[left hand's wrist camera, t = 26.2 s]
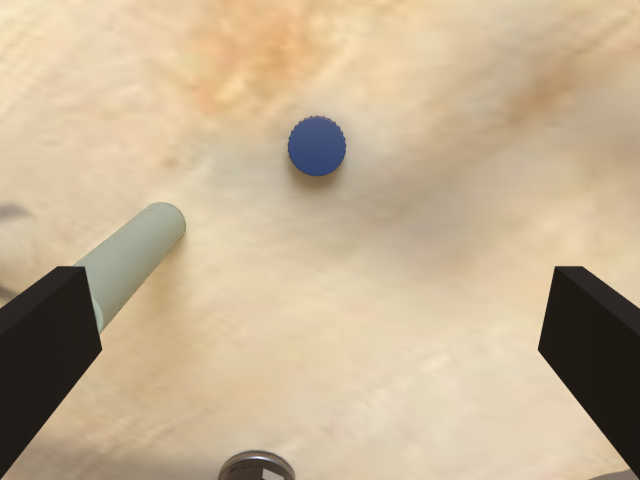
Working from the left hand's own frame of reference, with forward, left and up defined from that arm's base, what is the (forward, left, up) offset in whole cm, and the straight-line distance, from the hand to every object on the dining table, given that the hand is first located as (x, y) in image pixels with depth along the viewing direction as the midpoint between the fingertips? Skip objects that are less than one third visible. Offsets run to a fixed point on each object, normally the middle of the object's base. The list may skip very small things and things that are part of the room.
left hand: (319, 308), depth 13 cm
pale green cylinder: (+3, +17, -30) cm, 34 cm away
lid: (0, 0, -28) cm, 28 cm away
